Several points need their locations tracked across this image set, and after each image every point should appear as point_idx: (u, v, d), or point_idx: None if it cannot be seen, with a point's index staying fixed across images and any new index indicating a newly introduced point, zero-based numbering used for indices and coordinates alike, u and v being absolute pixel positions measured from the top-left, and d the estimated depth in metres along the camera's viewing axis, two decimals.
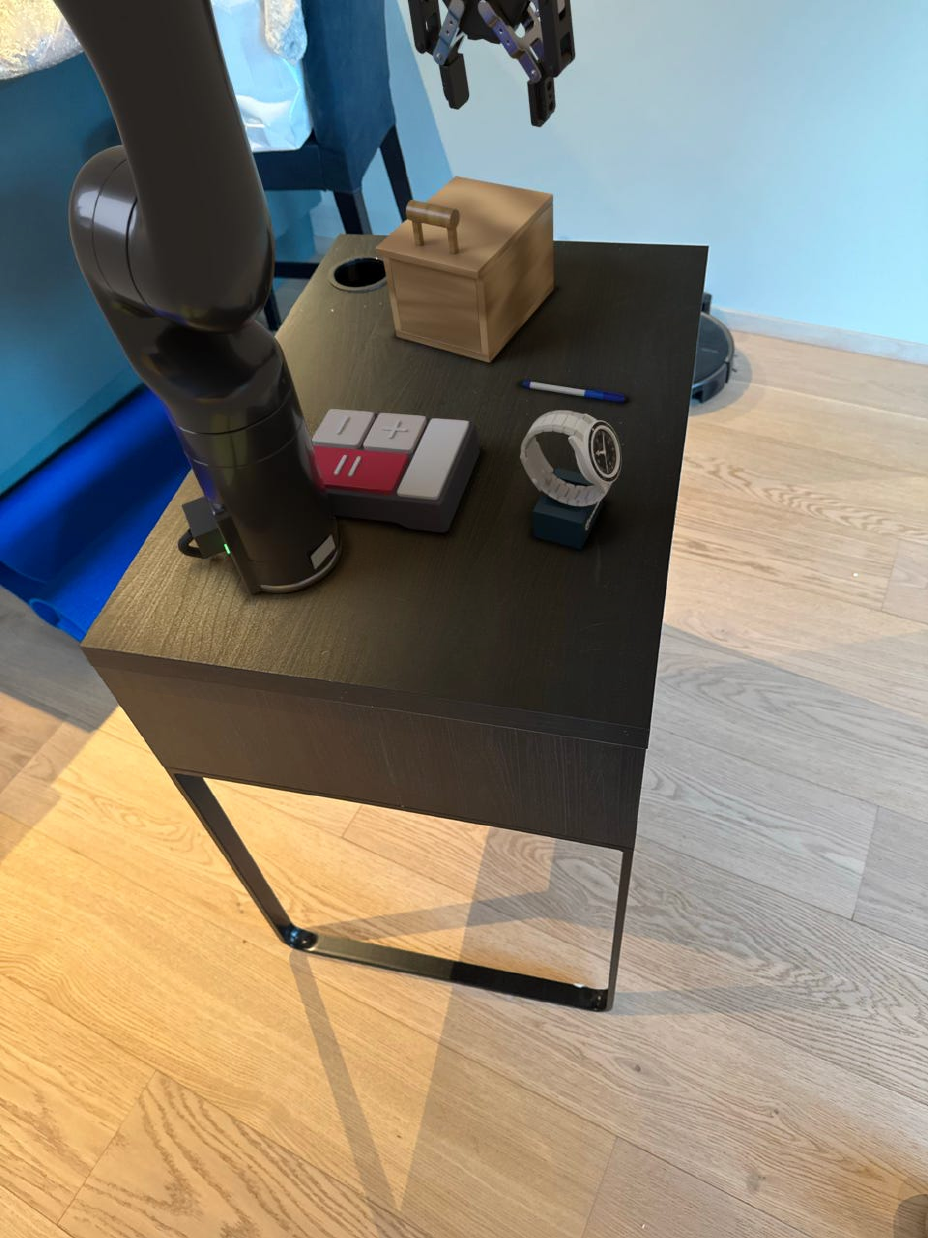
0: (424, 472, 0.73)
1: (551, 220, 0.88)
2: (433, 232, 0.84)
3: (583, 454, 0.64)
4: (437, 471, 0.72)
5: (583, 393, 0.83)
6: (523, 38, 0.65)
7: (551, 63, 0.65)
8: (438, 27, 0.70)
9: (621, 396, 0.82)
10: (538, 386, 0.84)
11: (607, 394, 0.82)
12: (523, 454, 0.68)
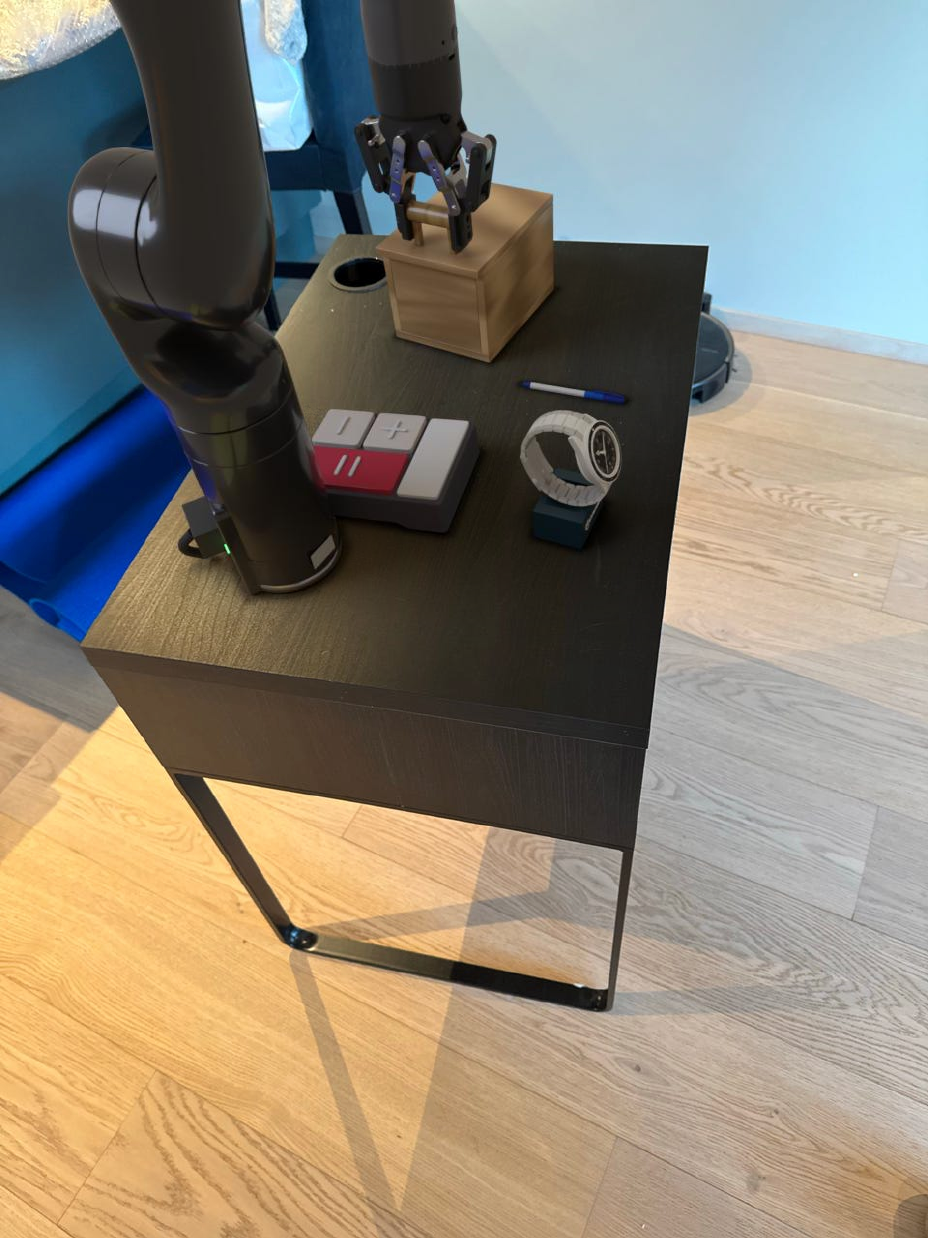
0: (424, 472, 0.73)
1: (551, 220, 0.88)
2: (433, 232, 0.84)
3: (583, 454, 0.64)
4: (437, 471, 0.72)
5: (583, 394, 0.83)
6: (451, 178, 0.75)
7: (470, 201, 0.75)
8: None
9: (621, 397, 0.82)
10: (538, 386, 0.84)
11: (607, 395, 0.82)
12: (523, 454, 0.68)
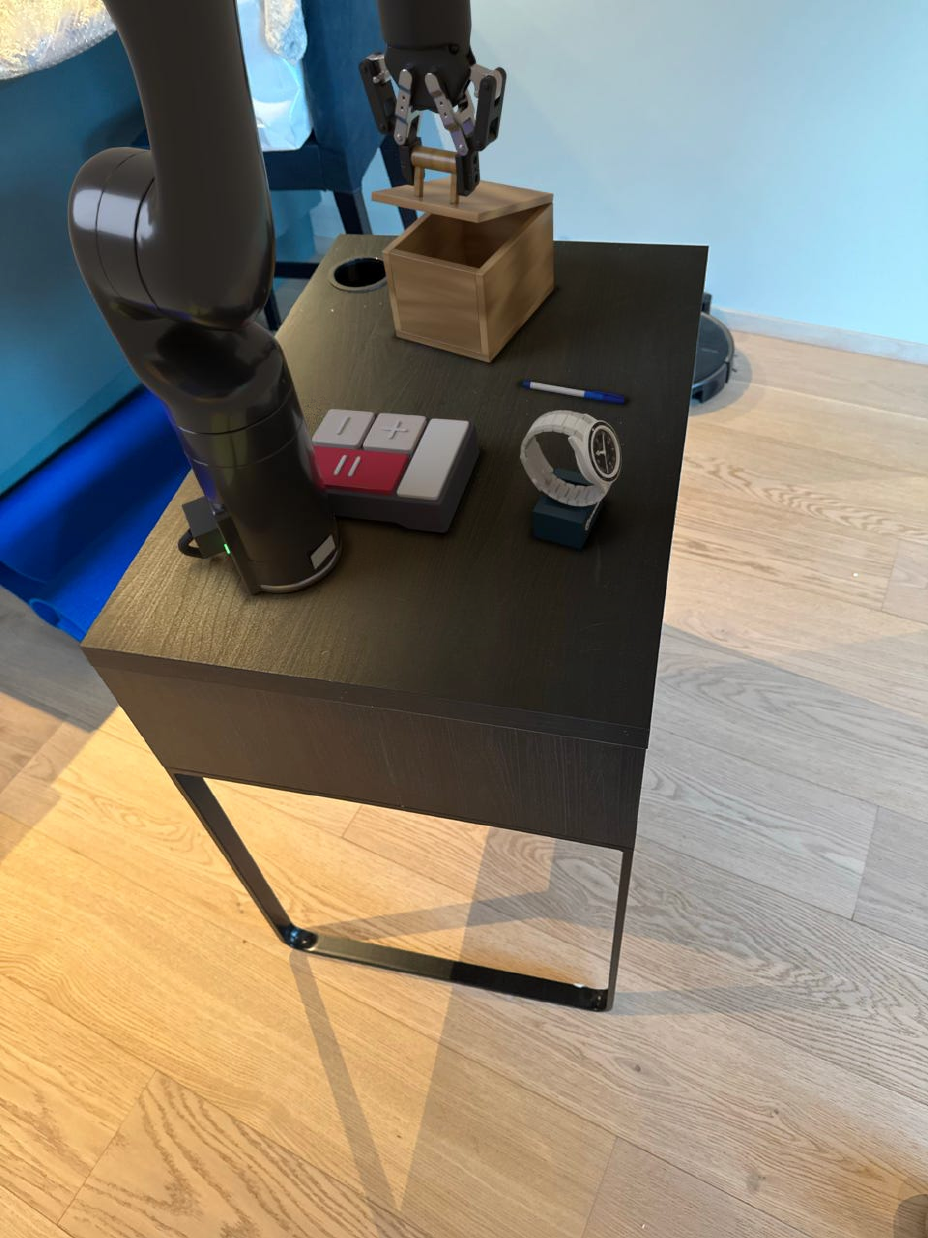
0: (424, 472, 0.73)
1: (551, 220, 0.88)
2: (433, 193, 0.81)
3: (583, 454, 0.64)
4: (437, 471, 0.72)
5: (583, 394, 0.83)
6: (458, 115, 0.72)
7: (478, 138, 0.72)
8: None
9: (621, 398, 0.82)
10: (538, 386, 0.84)
11: (607, 395, 0.82)
12: (523, 454, 0.68)
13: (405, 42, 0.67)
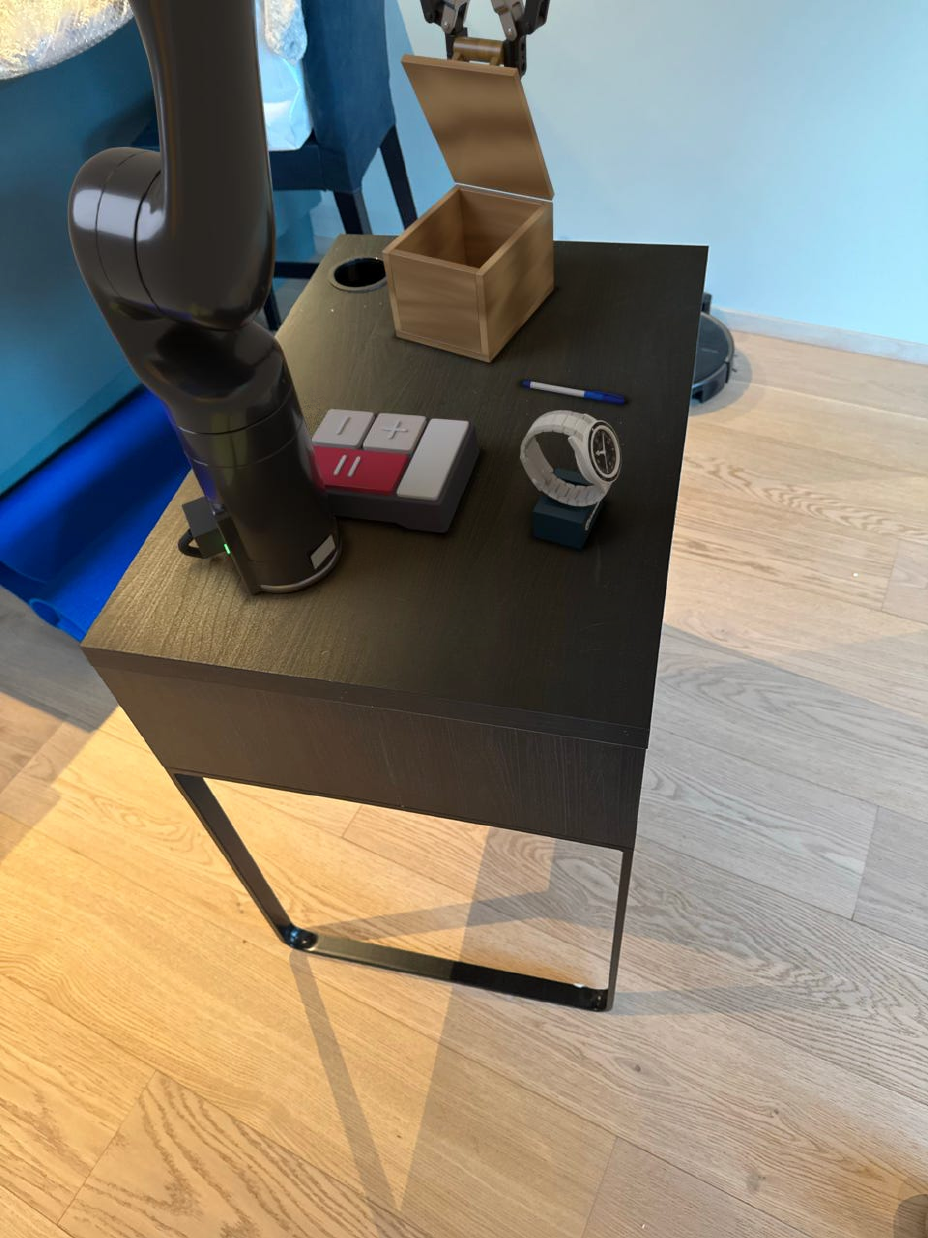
0: (424, 472, 0.73)
1: (551, 220, 0.88)
2: None
3: (583, 454, 0.64)
4: (437, 471, 0.72)
5: (583, 394, 0.83)
6: None
7: (528, 20, 0.72)
8: None
9: (620, 398, 0.82)
10: (538, 386, 0.84)
11: (606, 395, 0.82)
12: (523, 454, 0.68)
13: None
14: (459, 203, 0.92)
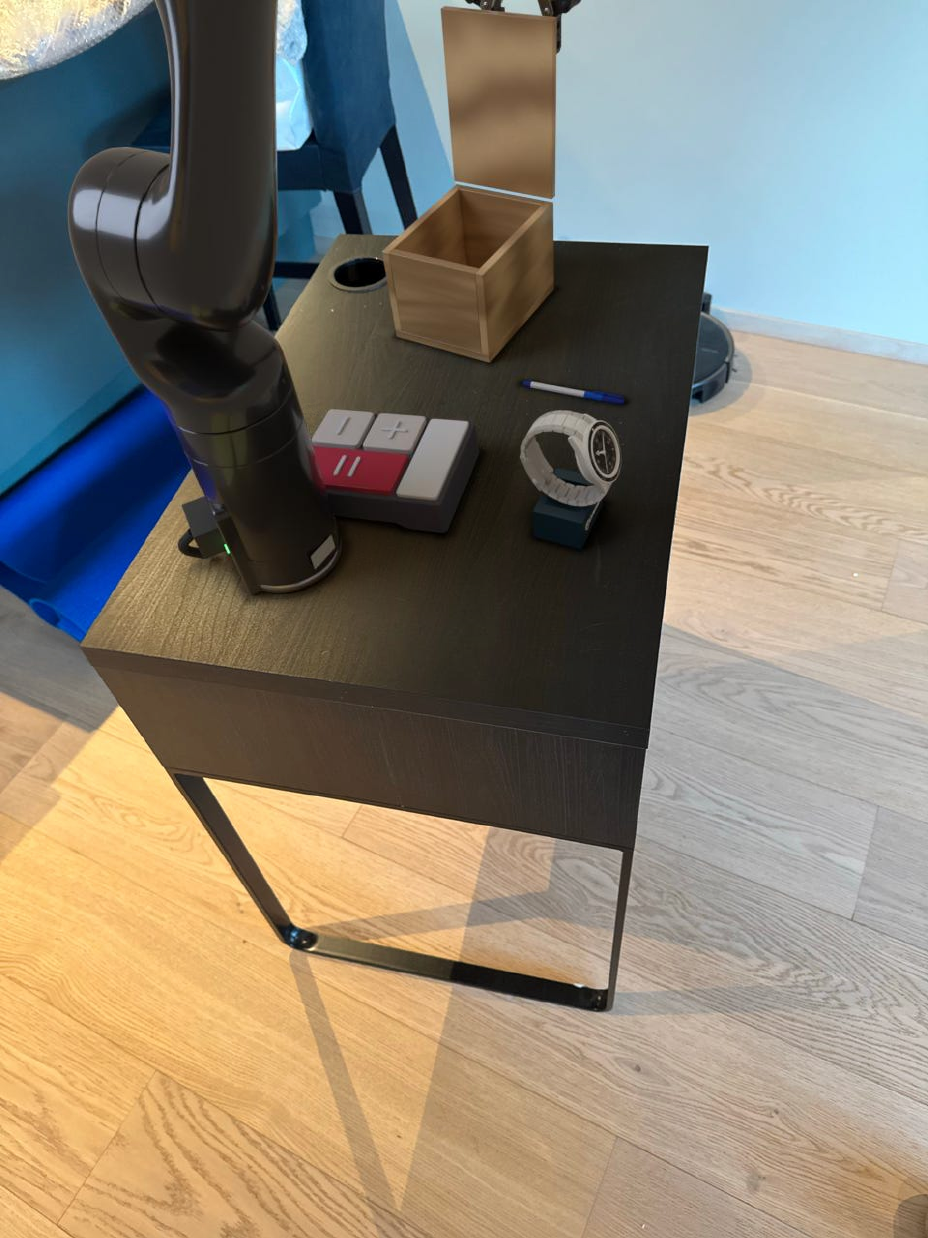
0: (423, 473, 0.73)
1: (551, 220, 0.88)
2: None
3: (583, 454, 0.64)
4: (436, 472, 0.72)
5: (583, 394, 0.83)
6: None
7: (564, 0, 0.76)
8: None
9: (620, 398, 0.82)
10: (538, 386, 0.84)
11: (606, 396, 0.82)
12: (523, 454, 0.68)
13: None
14: (459, 203, 0.92)
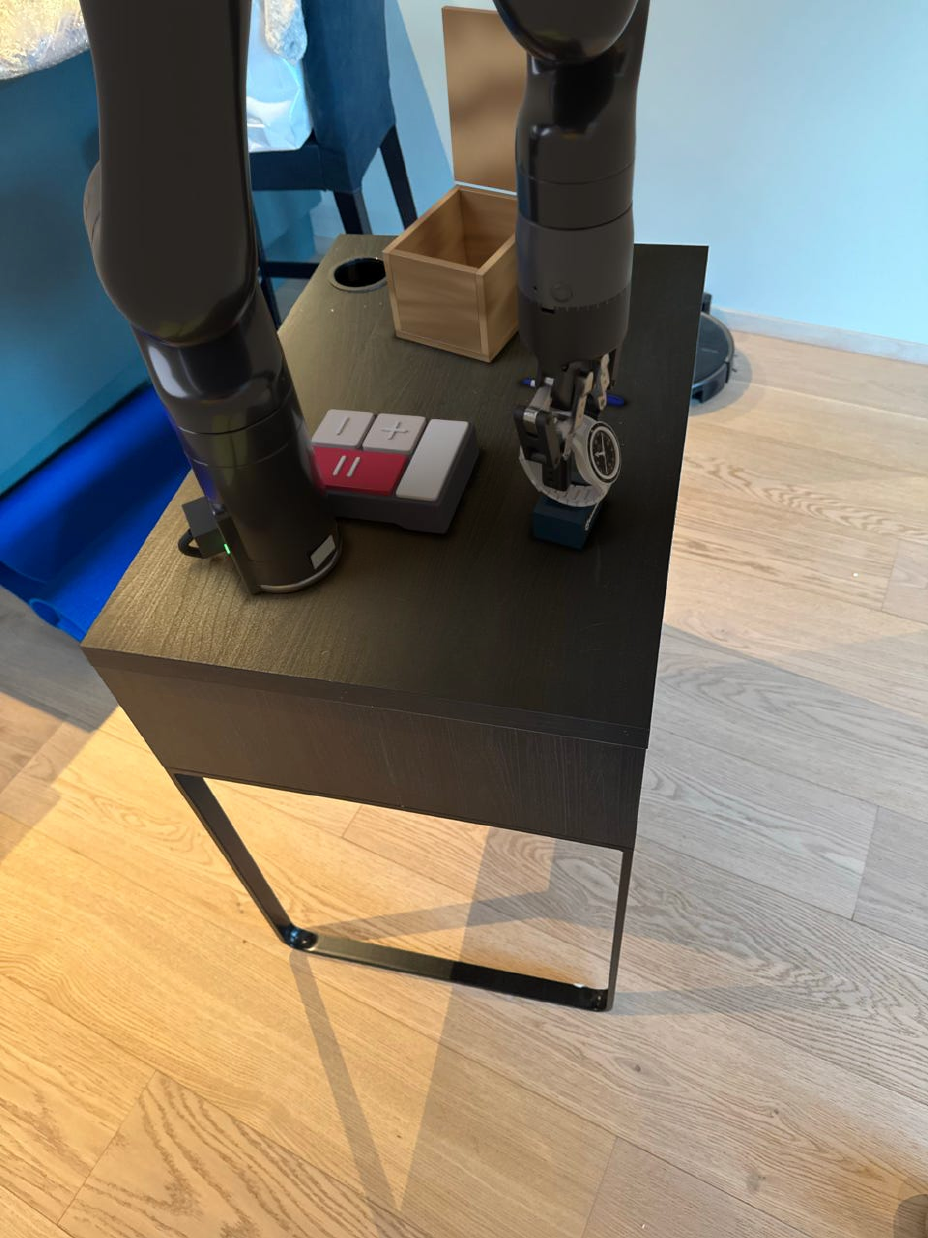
0: (423, 473, 0.73)
1: None
2: None
3: (582, 456, 0.64)
4: (436, 472, 0.72)
5: None
6: None
7: None
8: None
9: (619, 400, 0.82)
10: None
11: None
12: (522, 455, 0.68)
13: None
14: (459, 203, 0.92)
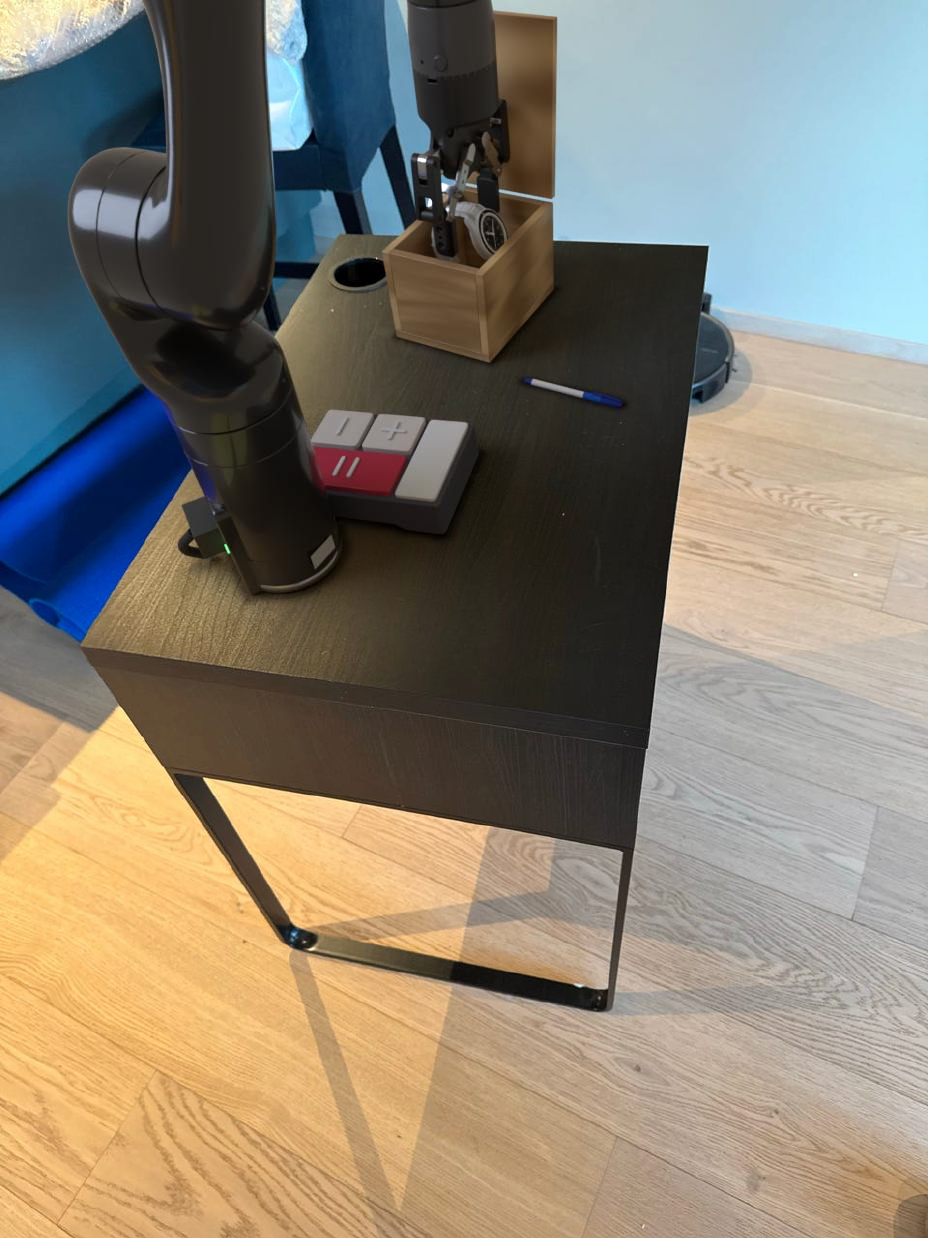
0: (422, 474, 0.73)
1: (551, 220, 0.88)
2: None
3: (475, 231, 0.83)
4: (435, 473, 0.72)
5: (582, 395, 0.83)
6: None
7: None
8: (500, 152, 0.84)
9: (618, 401, 0.81)
10: (539, 384, 0.84)
11: (605, 398, 0.82)
12: (433, 241, 0.87)
13: None
14: None
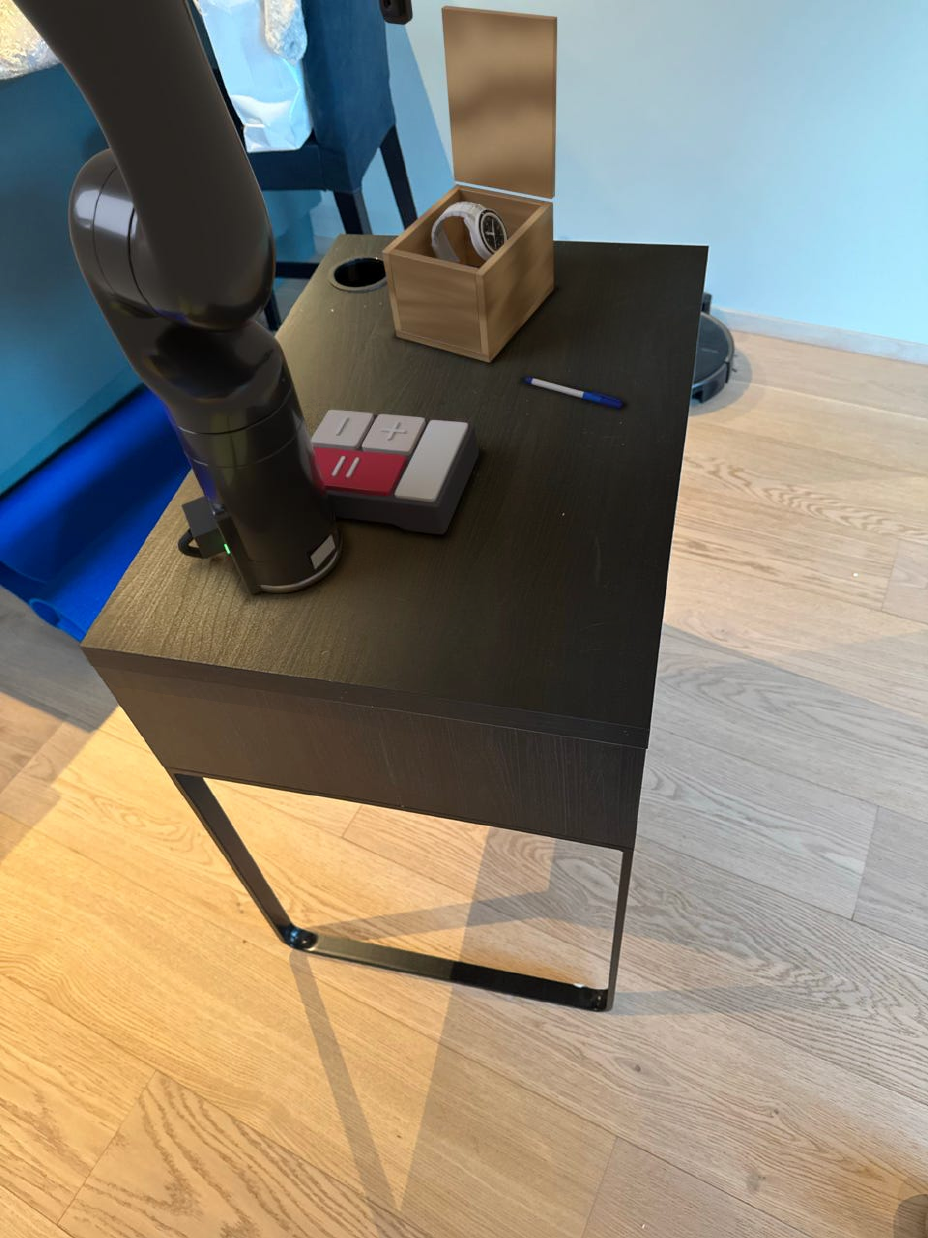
0: (422, 474, 0.73)
1: (551, 220, 0.88)
2: None
3: (475, 231, 0.83)
4: (435, 473, 0.72)
5: (581, 395, 0.83)
6: None
7: None
8: None
9: (618, 401, 0.81)
10: (539, 383, 0.84)
11: (604, 398, 0.82)
12: (433, 241, 0.87)
13: None
14: None
